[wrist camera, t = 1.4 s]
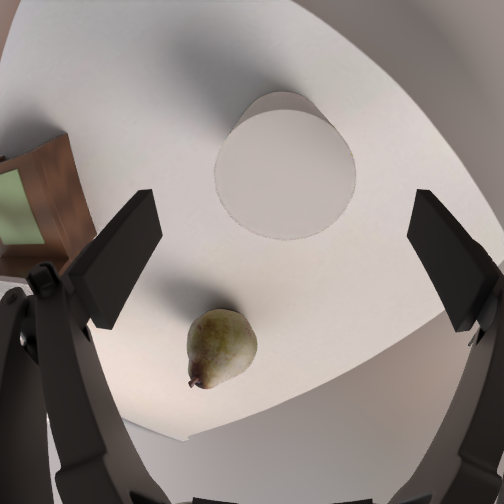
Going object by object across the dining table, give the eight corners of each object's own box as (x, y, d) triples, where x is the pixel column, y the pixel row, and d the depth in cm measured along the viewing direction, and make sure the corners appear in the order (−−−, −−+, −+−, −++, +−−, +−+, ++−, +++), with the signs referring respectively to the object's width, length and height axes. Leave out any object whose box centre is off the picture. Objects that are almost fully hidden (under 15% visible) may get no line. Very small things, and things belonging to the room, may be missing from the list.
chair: (-3, 158, 28) (-52, 192, 20) (67, 133, 26) (5, 168, 18) (26, 237, 36) (-12, 279, 28) (97, 234, 35) (55, 287, 26)
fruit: (188, 294, 40) (164, 368, 30) (256, 294, 38) (247, 373, 29) (204, 339, 45) (188, 405, 36) (262, 340, 44) (256, 410, 35)
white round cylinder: (310, 181, 28) (326, 253, 19) (231, 160, 28) (204, 222, 18) (336, 106, 24) (376, 138, 14) (250, 82, 23) (230, 93, 13)
